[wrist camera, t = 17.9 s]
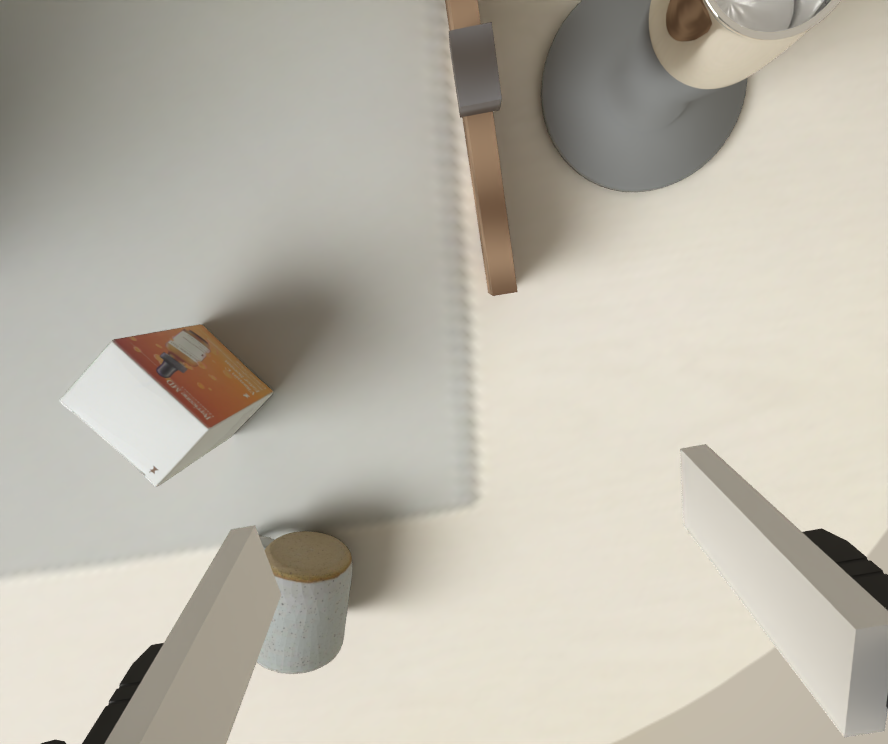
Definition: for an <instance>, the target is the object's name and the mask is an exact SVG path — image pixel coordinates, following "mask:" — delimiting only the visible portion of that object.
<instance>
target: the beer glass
mask: <svg viewBox="0 0 888 744" xmlns="http://www.w3.org/2000/svg"><path fill="white" fill-rule="evenodd" d="M840 1H841V0H648V2H647V5H646V7H645V10H644V12H643V15H642V18H641V21H640V24H639V27H638V30H637V33H636V36H635V38H634V39H632V40H631V41H629V42H628V43H627V44H626V45H624V46H623V47H622V48H621V49H620V50H619V51H618V52H617V53H616V55H615V56H614V57H613V59H612V61H611V62H610V64H609V66H608V69H607V71H606V75H605V79H604V97H605V102H606V105H607V107H608V110H609V111H610V113H611V115H612V116H613V117H614V119H615V120H616V121H617V122H618V123H620V124H621V125H622V126H624V127H626V128H628V129H630V130H633V131H638V132H650V131H655V130H659V129H661V128H664V127H666V126H667V125H669V124H671V123H672V122H673V121H674V120H676V119H677V118H678V117H679V116H680V115H681V114H682V112H683V111H684V110H685V109H686V107H687V106H688V104H689V103H690V101H693V100H696V99H699V98H702V97H705V96H708V95H711V94H714V93H717V92H719V91H722V90H724V89H726V88H728V87H731V86H733V85H735V84H737V83H739V82H741V81H743V80H744V79H746V78H747V77H749V76H751V75H752V74H754V73H755V72H757V71H759V70H760V69H762V68H763V67H764V66H766V65H767V64H769V63H770V62H771V61H772V60H774V59H775V58H776V57H778V56H779V55H780V54H782V53H783V52H784V51H785V50H787V49H788V48H789V47H790V46H791V45H792V44H794V43H795V42H796V41H797V40H798V39H799V38H801V37H802V36H803V35H804V34H805V33H806V32H807V31H808V30H810V29H811V28H812V27H813V26H815V25H816V24H818V23H819V22H820V21H822V20H823V19H824V18H825V17H826V16H827V15H829V14H830V13H831V12H832V11H833V9H834V8H835V7H836V6H837V5H838V4H839V2H840Z"/></svg>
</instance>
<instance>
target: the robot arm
mask: <svg viewBox="0 0 888 744" xmlns="http://www.w3.org/2000/svg"><path fill="white" fill-rule="evenodd" d="M680 456H681V482H682V508H683V525H684V527H685V528H686V529H687V531H688V532H689V533H690V535H691V536H692V537H693V539H694V540H695V541H696V543H697V544H698V545H699V546H700V548H701V549H702V550H703V552H704V553H705V554H706V556H707V557H708V558H709V560H710V561H711V562H712V564H713V565H714V566H715V568H716V569H717V570H718V572H719V573H720V574H721V575H722V577H723V578H724V579H725V581H726V582H727V583H728V585H729V586H730V587H731V589H732V590H733V591H734V593H735V594H736V595H737V597H738V598H739V599H740V601H741V602H742V603H743V604H744V606H745V607H746V608H747V610H748V611H749V612H750V614H751V615H752V616H753V618H754V619H755V620H756V622H757V623H758V624H759V626H760V627H761V628H762V630H763V631H764V632H765V633H766V635H767V636H768V637H769V639H770V640H771V641H772V643H773V644H774V645H775V647H776V648H777V649H778V651H779V652H780V653H781V655H782V656H783V657H784V659H785V660H786V661H787V662H788V664H789V665H790V666H791V668H792V669H793V670H794V672H795V673H796V674H797V676H798V677H799V678H800V680H801V681H802V682H803V684H804V685H805V686H806V687H807V689H808V690H809V691H810V693H811V694H812V695H813V697H814V698H815V699H816V701H817V702H818V703H819V705H820V706H821V707H822V709H823V710H824V711H825V712H826V714H827V715H828V716H829V718H830V719H831V720H832V722H833V723H834V724H835V726H836V727H837V728H838V730H839V731H840V732H841V734H842V735H843V736H844V737H849V736H856V735H863V734H869V733H875V732H882V731H885V725H886V718H887V711H888V575H887V574H884V573H883V571H882V570H881V569H880V568H879V567H878V566H877V565H875V564H874V563H873V562H872V561H868V560H867V557H866V556H865V555H863V554H862V553H861V552H860V551H859V550H857V549H856V548H855V547H854V546H853V545H851V544H850V543H849V542H848V541H846V540H844V539H842V538H840V537H838V536H836V535H834V534H832V533H830V532H828V531H826V530H824V529H817V530H811V531H805V532H801V531H800V530H799V529H798V528H797V527H796V526H795V525H794V524H793V523H791V522H790V521H789V520H788V519H787V518H786V517H785V516H784V515H783V514H782V513H781V512H779V511H778V510H777V509H776V508H775V507H774V506H773V505H772V504H771V503H770V502H768V501H767V500H766V499H765V498H764V497H763V496H762V495H761V494H760V493H759V492H758V491H756V490H755V489H754V488H753V487H752V486H751V485H750V484H749V483H748V482H747V481H746V480H744V479H743V478H742V477H741V476H740V475H739V474H738V473H737V472H736V471H735V470H734V469H732V468H731V467H730V466H729V465H728V464H727V463H726V462H725V461H724V460H723V459H722V458H720V457H719V456H718V455H717V454H716V453H715V452H714V451H713V450H712V449H711V448H710V447H708V446H707V445H706V444H705V445H699V446H693V447H688V448H682V449H680ZM280 597H281V593H280V590H279V587H278V585H277V582H276V579H275V577H274V574H273V572H272V569H271V566H270V564H269V561H268V558H267V556H266V553H265V551H264V548H263V545H262V543H261V540H260V537H259V535H258V532H257V529H256V527H255V525H254V526H249V527H243V528H238V529H232V530H231V531H230V532H229V534H228V536H227V537H226V539H225V541H224V542H223V544H222V546H221V548H220V549H219V551H218V553H217V554H216V556H215V558H214V559H213V561H212V563H211V564H210V566H209V568H208V570H207V571H206V573H205V575H204V576H203V578H202V580H201V581H200V583H199V585H198V586H197V588H196V590H195V592H194V593H193V595H192V597H191V598H190V600H189V602H188V603H187V605H186V607H185V608H184V610H183V612H182V614H181V615H180V617H179V619H178V620H177V622H176V624H175V625H174V627H173V629H172V630H171V632H170V634H169V636H168V637H167V639H166V641H165V642H164V643H161V644H155V645H151V646H150V647H149V648H148V649H147V650H146V651H145V652H144V653H143V654H142V655H141V656H140V657H139V658H138V659H137V660H136V661H135V662H134V663H133V664H132V666H131V667H130V669H129V670H128V672H127V674H126V675H125V677H124V678H123V680H122V681H121V683H120V685H119V686H120V687H119V689H116V691H115V693H114V694H113V696H112V697H111V699H110V700H109V705H108V706H106V707H105V708H104V710H103V712H102V713H101V715H100V716H99V718H98V719H97V721H96V723H95V724H94V726H93V727H92V729H91V731H90V732H89V734H88V735H87V737H86V738H85V740H84V742H83V743H82V744H226V743H227V740H228V737H229V735H230V732H231V729H232V727H233V724H234V721H235V719H236V716H237V713H238V710H239V708H240V705H241V702H242V700H243V697H244V694H245V692H246V689H247V686H248V683H249V681H250V678H251V675H252V673H253V670H254V667H255V665H256V662H257V659H258V656H259V654H260V651H261V648H262V646H263V643H264V640H265V638H266V635H267V632H268V630H269V627H270V624H271V621H272V619H273V616H274V613H275V611H276V608H277V605H278V603H279V600H280ZM41 744H66V743H65V741H60V740H52V741H48V742H44V743H41Z"/></svg>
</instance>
